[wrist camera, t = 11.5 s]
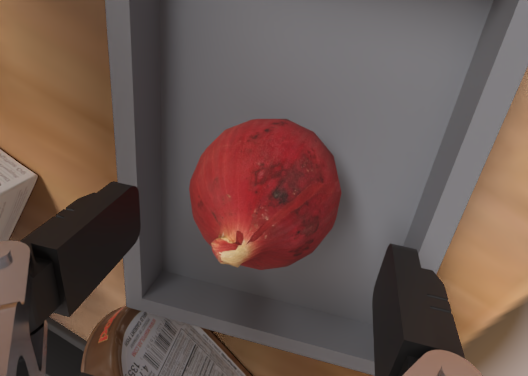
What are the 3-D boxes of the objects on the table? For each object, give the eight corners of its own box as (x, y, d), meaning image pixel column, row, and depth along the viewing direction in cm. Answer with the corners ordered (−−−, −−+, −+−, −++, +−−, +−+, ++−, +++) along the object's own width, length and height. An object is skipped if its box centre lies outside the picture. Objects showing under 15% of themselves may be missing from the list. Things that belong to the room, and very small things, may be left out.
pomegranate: (288, 70, 16) (232, 123, 9) (370, 167, 17) (375, 279, 10) (203, 149, 19) (110, 236, 12) (279, 229, 20) (234, 352, 13)
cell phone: (97, 398, 34) (92, 406, 34) (-37, 314, 33) (-45, 321, 32) (127, 362, 31) (122, 370, 30) (-23, 265, 30) (-31, 272, 29)
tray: (147, -109, 15) (95, -136, 12) (540, -68, 13) (594, -87, 10) (155, 268, 25) (126, 306, 22) (385, 328, 23) (390, 380, 20)
